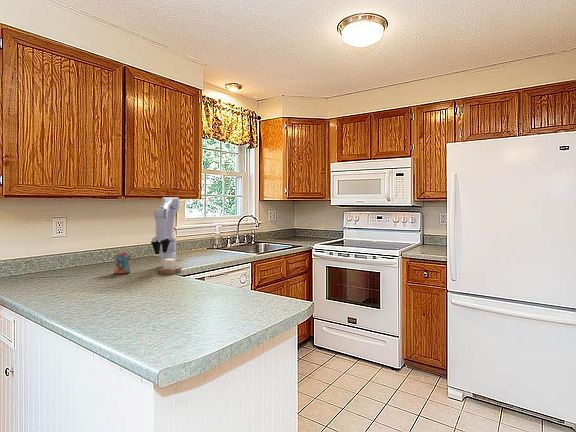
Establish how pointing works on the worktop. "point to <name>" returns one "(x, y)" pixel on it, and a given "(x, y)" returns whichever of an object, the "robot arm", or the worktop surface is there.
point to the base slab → (169, 271)
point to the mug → (122, 263)
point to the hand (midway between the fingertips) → (160, 253)
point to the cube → (169, 263)
